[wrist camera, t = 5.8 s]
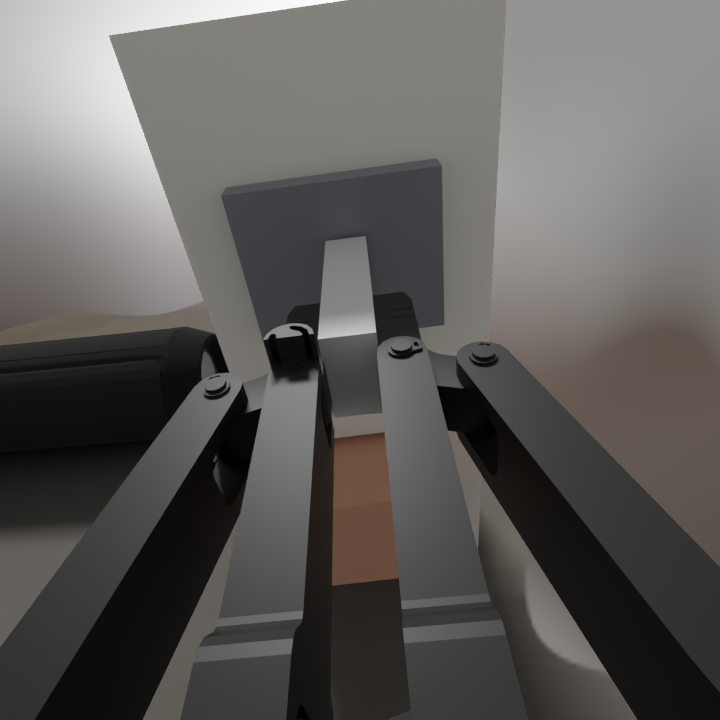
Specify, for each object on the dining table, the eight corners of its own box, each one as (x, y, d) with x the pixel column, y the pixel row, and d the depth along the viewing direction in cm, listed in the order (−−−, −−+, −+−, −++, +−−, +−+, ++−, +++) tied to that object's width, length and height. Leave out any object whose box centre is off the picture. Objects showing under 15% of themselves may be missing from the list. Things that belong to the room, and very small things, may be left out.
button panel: (300, 570, 32) (109, 35, 14) (304, 497, 37) (165, 30, 19) (477, 550, 32) (507, -24, 14) (458, 479, 36) (461, -14, 19)
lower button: (316, 587, 25) (291, 513, 21) (318, 481, 30) (299, 407, 27) (460, 571, 25) (461, 493, 21) (436, 467, 30) (433, 391, 26)
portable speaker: (244, 386, 49) (216, 303, 43) (221, 459, 41) (183, 369, 36) (15, 407, 51) (-42, 330, 45) (-49, 480, 43) (-129, 398, 37)
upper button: (265, 347, 20) (221, 195, 16) (279, 274, 26) (249, 149, 22) (444, 325, 20) (442, 165, 16) (418, 256, 25) (412, 126, 22)
